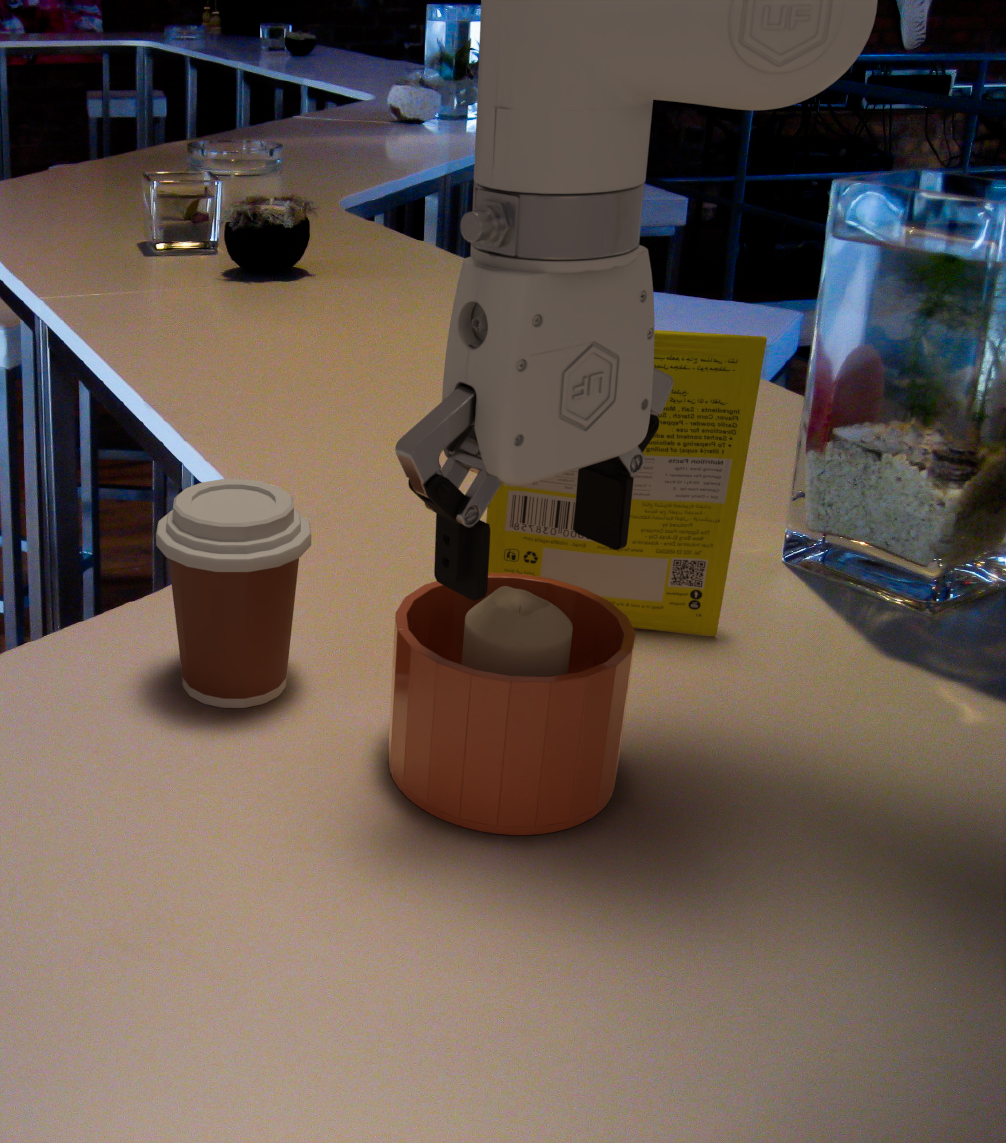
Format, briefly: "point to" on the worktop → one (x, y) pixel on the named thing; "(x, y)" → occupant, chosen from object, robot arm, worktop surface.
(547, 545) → the food package
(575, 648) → the pot cup
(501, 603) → the candle
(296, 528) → the coffee cup
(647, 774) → the worktop surface
